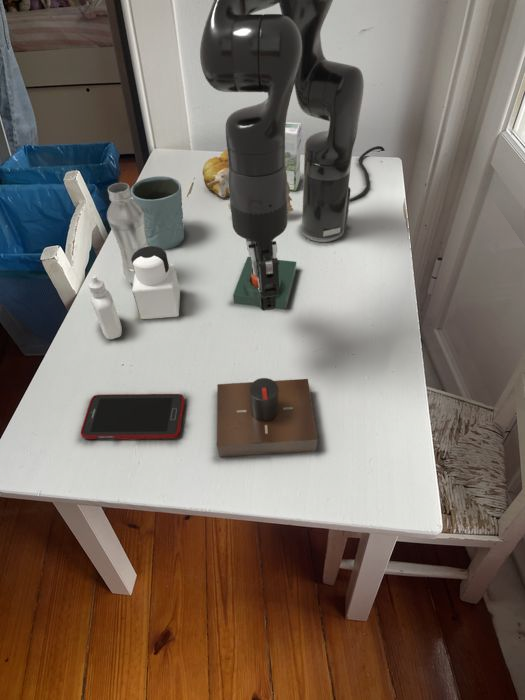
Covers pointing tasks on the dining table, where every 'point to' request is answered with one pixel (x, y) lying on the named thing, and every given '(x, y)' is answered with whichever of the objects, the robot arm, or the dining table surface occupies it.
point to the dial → (264, 399)
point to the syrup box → (292, 153)
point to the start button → (254, 280)
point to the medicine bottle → (155, 284)
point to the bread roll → (215, 171)
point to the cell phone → (133, 416)
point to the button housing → (251, 294)
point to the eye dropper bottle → (105, 309)
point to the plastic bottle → (126, 225)
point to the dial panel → (265, 436)
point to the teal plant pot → (161, 210)
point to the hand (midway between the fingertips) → (263, 289)
